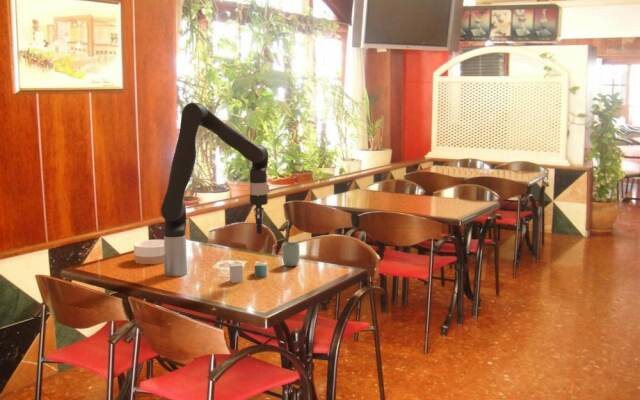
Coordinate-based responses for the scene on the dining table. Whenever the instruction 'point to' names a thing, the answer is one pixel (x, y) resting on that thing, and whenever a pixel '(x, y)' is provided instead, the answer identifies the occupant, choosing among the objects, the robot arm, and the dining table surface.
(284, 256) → the cup
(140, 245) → the bowl
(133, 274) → the dining table surface
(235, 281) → the grey block
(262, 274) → the blue canister
